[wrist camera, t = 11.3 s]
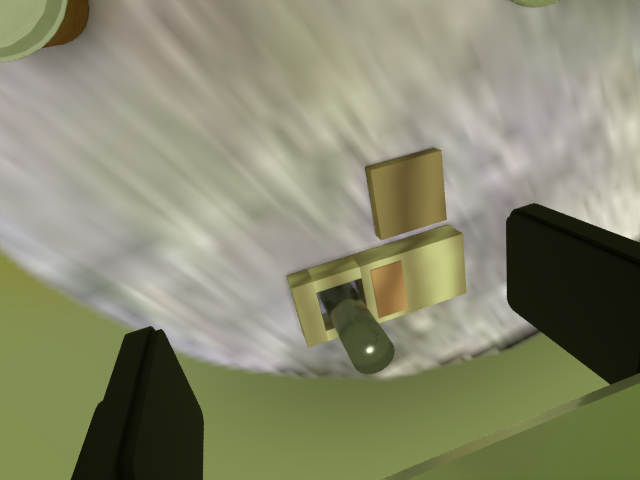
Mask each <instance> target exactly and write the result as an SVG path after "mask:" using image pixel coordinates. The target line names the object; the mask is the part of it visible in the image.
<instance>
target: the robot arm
mask: <svg viewBox="0 0 640 480" xmlns="http://www.w3.org/2000/svg"><path fill="white" fill-rule="evenodd" d="M513 1H514V2H516V3H518V4H521V5H523V6H529V7H538V6H545V5H549V4H553V3H556V2H558V1H560V0H513ZM506 257H507V301H508V304H509V306H510V307H511V308H512V310H513V311H515V312H516V313H517V314H519V315H520V316H521V317H522V318H524V319H525V320H526V321H528V322H529V323H530V324H532V325H533V326H534V327H536V328H537V329H538V330H540V331H541V332H542V333H543V334H545V335H546V336H548V337H549V338H550V339H551V340H553V341H554V342H555V343H557V344H558V345H559V346H561V347H562V348H563V349H564V350H566V351H567V352H568V353H570V354H571V355H572V356H574V357H575V358H576V359H578V360H579V361H580V362H582V363H583V364H584V365H586V366H587V367H588V368H589V369H591V370H592V371H593V372H595V373H596V374H597V375H599V376H600V377H601V378H603V379H604V380H605V381H607V382H608V383H609V384H610V385H609V386H607V387H604V388H602V389H599V390H597V391H594V392H592V393H589V394H587V395H584V396H582V397H580V398H577V399H575V400H572V401H570V402H567V403H565V404H562V405H560V406H557V407H555V408H553V409H550V410H548V411H545V412H543V413H540V414H538V415H536V416H533V417H531V418H528V419H526V420H524V421H521V422H519V423H516V424H514V425H511V426H509V427H506V428H504V429H502V430H499V431H497V432H494V433H492V434H489V435H487V436H485V437H482V438H480V439H478V440H475V441H473V442H470V443H468V444H465V445H463V446H461V447H458V448H456V449H454V450H451V451H448V452H446V453H444V454H441V455H439V456H436V457H434V458H431V459H429V460H427V461H424V462H422V463H420V464H417V465H415V466H412V467H410V468H408V469H405V470H403V471H400V472H398V473H396V474H393V475H391V476H389V477H386V478H384V479H381V480H640V243H639V242H637V241H634V240H631V239H629V238H626V237H623V236H621V235H618V234H615V233H613V232H610V231H608V230H605V229H602V228H600V227H597V226H594V225H592V224H589V223H586V222H584V221H581V220H579V219H576V218H573V217H571V216H568V215H565V214H563V213H560V212H557V211H555V210H552V209H550V208H547V207H544V206H542V205H539V204H535V203H533V204H529V205H526V206H523V207H520V208H517V209H514V210H513V211H512V212H511V214H510V216H509V217H508V218H507V220H506ZM203 435H204V420H203V414H202V411H201V408H200V406H199V404H198V402H197V399H196V397H195V395H194V394H193V391H192V389H191V387H190V385H189V383H188V381H187V379H186V376H185V374H184V372H183V370H182V368H181V366H180V364H179V362H178V360H177V358H176V355H175V353H174V351H173V349H172V347H171V345H170V343H169V341H168V339H167V337H166V334H165V333H164V331H163V330H162V329H160V330H157V331H155V329H154V328H153V327H151V326H149V327H146V328H143V329H140V330H137V331H134V332H131V333H128V334H126V335H125V337H124V339H123V342H122V345H121V348H120V351H119V354H118V357H117V360H116V363H115V366H114V369H113V372H112V375H111V378H110V382H109V384H108V387H107V390H106V393H105V396H104V399H103V401H101V402H100V403H99V404H98V405H97V407H96V409H95V412H94V415H93V417H92V420H91V423H90V426H89V429H88V432H87V435H86V438H85V441H84V443H83V446H82V449H81V452H80V455H79V458H78V461H77V463H76V466H75V469H74V472H73V475H72V478H71V480H203V439H204V437H203Z"/></svg>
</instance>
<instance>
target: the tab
mask: <svg viewBox="0 0 640 480" xmlns="http://www.w3.org/2000/svg"><path fill="white" fill-rule="evenodd" d="M365 170H366V176H367V182H368V188H369V194H370V200H371V206H372V212H373V219H374V225H375V231H376V236H377V237H379V238H380V239H381V240H384V239H387V238H390V237H393V236H396V235H400V234H403V233H406V232H409V231H412V230H415V229H419V228H422V227H425V226H428V225H431V224H435V223H438V222H441V221H444V220H447V218H446V205H445V192H444V179H443V166H442V153H441V150H438V149H435V148H433V149H429V150H426V151H422V152H419V153H415V154H412V155H408V156H404V157H401V158H397V159H394V160H390V161H387V162H383V163H380V164H376V165H373V166H369V167H365Z"/></svg>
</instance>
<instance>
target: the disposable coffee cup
mask: <svg viewBox="0 0 640 480" xmlns="http://www.w3.org/2000/svg"><path fill="white" fill-rule="evenodd" d="M88 14H89V7H88V0H0V62H6V61H13V60H16V59H20V58H23V57H26V56H28V55H30V54H32V53H34V52H36V51H38V50H39V49H41V48H45V47H50V46H56V45H62V44H66V43H68V42H70V41H73V40H74V39H76V38H77V37H78V36H79V35H80V34H81V33H82V31H83V30H84V28H85V27H86V23H87V19H88Z"/></svg>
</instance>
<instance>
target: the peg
mask: <svg viewBox="0 0 640 480" xmlns="http://www.w3.org/2000/svg"><path fill="white" fill-rule="evenodd" d="M319 298H320V300H321V302H322V304H323V306H324V308H325V310H326V312H327V314H328V316H329V318H330V320H331V322H332V324H333V326H334V328H335V330H336V332H337V334H338V335H339V337H340V339H341V341H342V343H343V345H344V347H345V349H346V351H347V353H348V355H349V357H350V359H351V361H352V363H353V365H354V367H355V368H356V370H358V371H359V372H361V373H364V374H373V373H377V372H379V371H381V370H383V369H384V368H386V367H387V366H388V365H389V363H390V362H391V361H392V359H393V356H394V346H393V344H392V342H391V341H390V339H389V338H388V336H387V335H386V334H385V332H384V331H383V329H382V328H381V326H380V325H379V324H378V322H377V321H376V319H375V318H374V316H373V315H372V314H371V312H370V311H369V309H368V308H367V306H366V305H365V304H364V302H363V301H362V299H361V298H360V296H359V295H358V294H357V292H356V291H355V289H354V288H353V286H352V285H351V283H350V282H348V283H345V284H341V285H338V286H335V287H332V288H329V289H326V290H323V291H320V292H319Z"/></svg>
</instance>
